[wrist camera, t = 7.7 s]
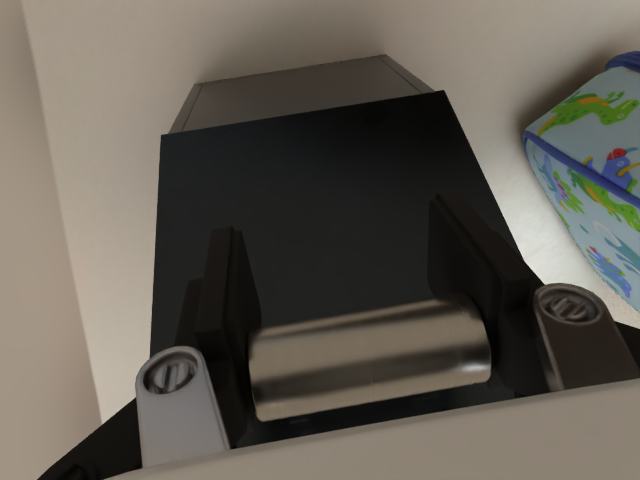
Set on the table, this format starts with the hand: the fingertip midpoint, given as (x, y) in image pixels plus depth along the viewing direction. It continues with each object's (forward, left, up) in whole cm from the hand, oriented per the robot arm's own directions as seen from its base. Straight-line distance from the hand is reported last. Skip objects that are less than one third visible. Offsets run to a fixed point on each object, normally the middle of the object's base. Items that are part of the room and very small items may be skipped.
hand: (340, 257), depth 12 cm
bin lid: (+2, -2, -4) cm, 5 cm away
